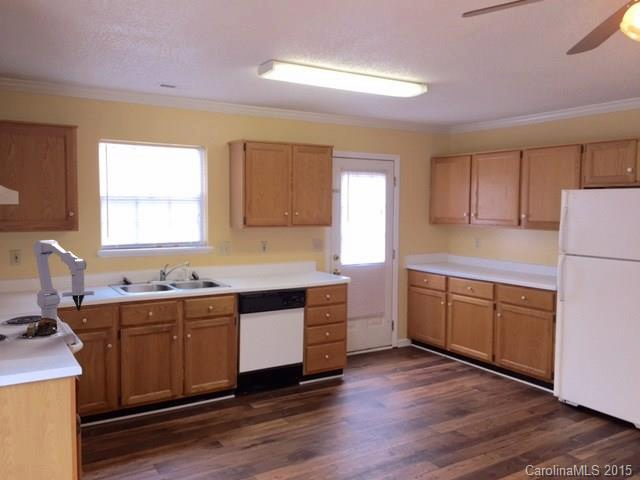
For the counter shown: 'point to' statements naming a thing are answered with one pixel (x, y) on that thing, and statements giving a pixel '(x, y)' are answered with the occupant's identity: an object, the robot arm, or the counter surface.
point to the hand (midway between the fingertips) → (78, 310)
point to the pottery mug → (46, 325)
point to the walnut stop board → (31, 329)
